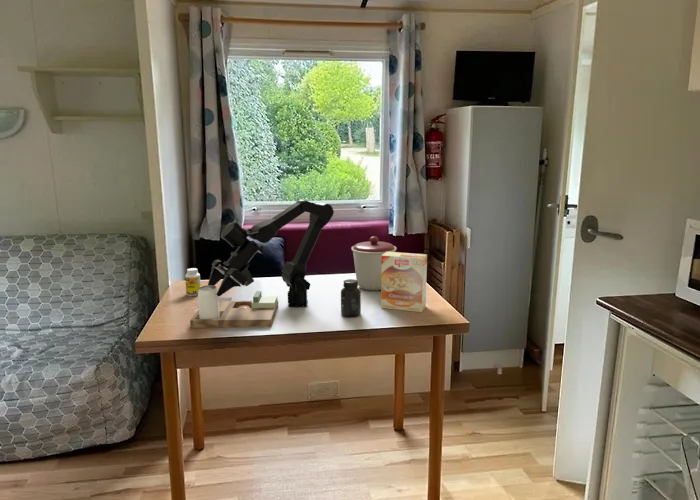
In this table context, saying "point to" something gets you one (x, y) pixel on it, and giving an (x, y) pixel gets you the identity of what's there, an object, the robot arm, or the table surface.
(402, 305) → the coffeecake box
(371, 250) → the canister
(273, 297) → the cover
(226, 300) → the mat
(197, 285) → the supplement bottle
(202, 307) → the can
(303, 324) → the table surface
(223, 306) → the puzzle board
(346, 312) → the supplement bottle
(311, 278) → the table surface
